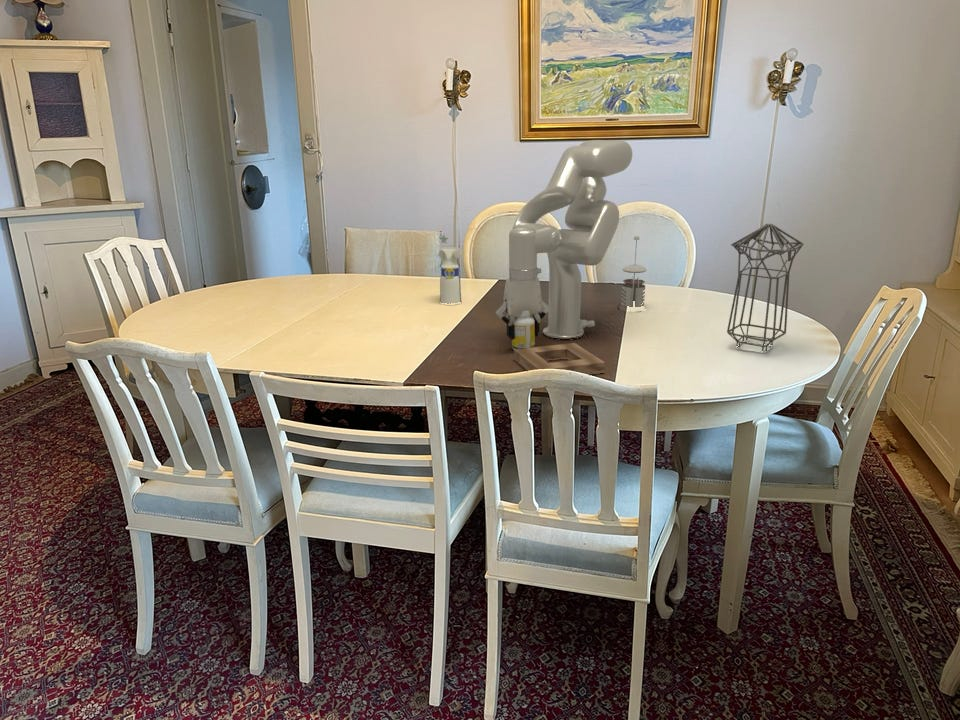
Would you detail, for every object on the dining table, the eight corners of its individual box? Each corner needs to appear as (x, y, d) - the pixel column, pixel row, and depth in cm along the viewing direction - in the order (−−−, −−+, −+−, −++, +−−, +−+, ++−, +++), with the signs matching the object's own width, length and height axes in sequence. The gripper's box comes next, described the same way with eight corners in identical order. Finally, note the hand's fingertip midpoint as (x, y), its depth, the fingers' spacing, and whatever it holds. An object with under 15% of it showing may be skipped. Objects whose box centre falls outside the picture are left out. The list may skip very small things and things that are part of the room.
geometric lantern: (737, 337, 214) (750, 218, 203) (792, 347, 204) (809, 223, 193) (716, 349, 202) (729, 224, 191) (773, 360, 193) (790, 229, 182)
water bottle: (462, 305, 253) (461, 234, 245) (438, 305, 253) (436, 234, 245) (463, 300, 261) (462, 230, 253) (440, 300, 261) (438, 231, 253)
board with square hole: (574, 353, 200) (574, 342, 199) (604, 373, 184) (604, 362, 183) (513, 360, 195) (513, 349, 194) (539, 381, 179) (539, 370, 178)
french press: (645, 305, 251) (649, 233, 244) (649, 314, 240) (654, 239, 233) (616, 305, 252) (620, 233, 244) (619, 313, 241) (623, 238, 233)
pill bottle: (533, 344, 206) (533, 305, 202) (535, 352, 200) (535, 311, 196) (510, 345, 206) (510, 306, 202) (512, 352, 200) (512, 312, 196)
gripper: (546, 268, 202) (546, 329, 208) (488, 274, 197) (489, 336, 203) (557, 274, 195) (556, 336, 201) (497, 280, 190) (498, 344, 196)
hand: (523, 336), depth 202 cm, fingers closed on pill bottle, 6 cm apart
